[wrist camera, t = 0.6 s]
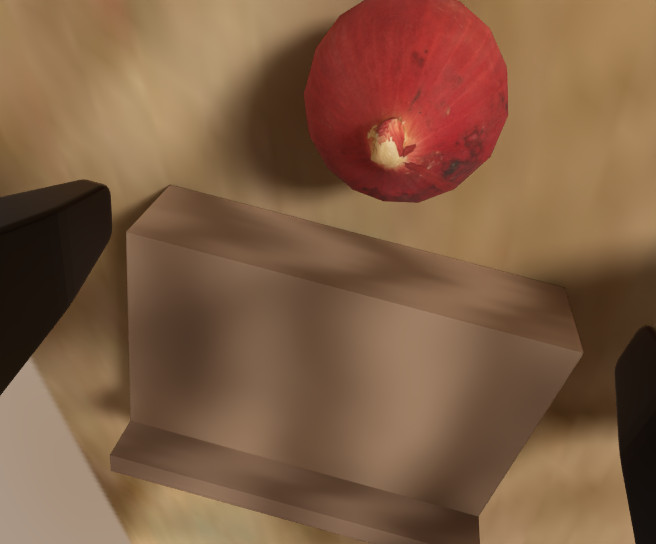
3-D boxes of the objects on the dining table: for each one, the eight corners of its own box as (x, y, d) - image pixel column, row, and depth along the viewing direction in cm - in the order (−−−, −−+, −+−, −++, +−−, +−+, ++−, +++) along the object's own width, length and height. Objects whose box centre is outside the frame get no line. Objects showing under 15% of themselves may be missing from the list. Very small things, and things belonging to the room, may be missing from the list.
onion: (536, 58, 19) (584, 150, 12) (416, 177, 22) (402, 301, 15) (405, -71, 17) (378, -44, 11) (296, 76, 20) (225, 165, 14)
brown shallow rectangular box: (564, 287, 23) (595, 394, 18) (467, 460, 30) (471, 571, 25) (170, 184, 24) (98, 261, 19) (164, 378, 31) (110, 470, 26)
